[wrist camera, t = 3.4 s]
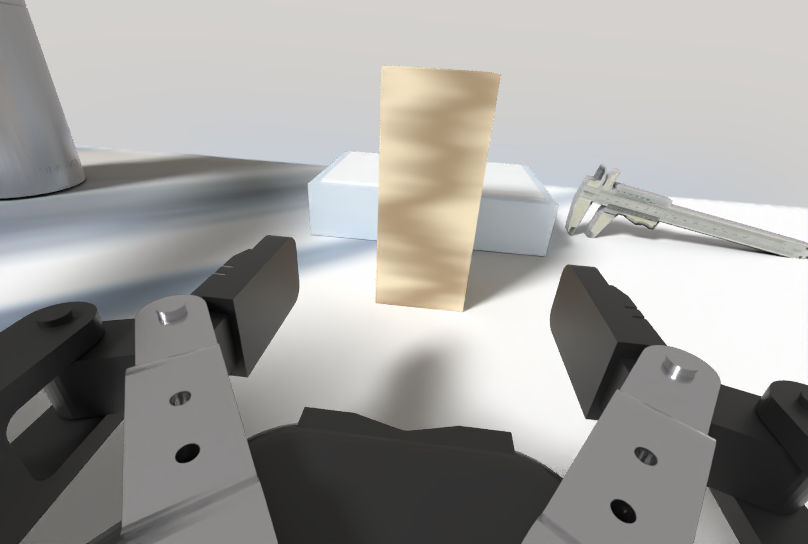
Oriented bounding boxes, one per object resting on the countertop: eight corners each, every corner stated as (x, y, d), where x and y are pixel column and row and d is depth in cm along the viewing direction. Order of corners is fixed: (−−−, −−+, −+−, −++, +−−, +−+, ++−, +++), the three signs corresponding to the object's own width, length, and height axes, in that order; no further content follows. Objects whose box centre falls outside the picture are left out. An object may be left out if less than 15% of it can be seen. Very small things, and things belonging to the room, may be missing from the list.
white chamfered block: (310, 234, 30) (307, 181, 28) (346, 190, 40) (345, 149, 38) (545, 256, 29) (559, 202, 27) (518, 204, 39) (527, 163, 37)
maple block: (375, 302, 22) (381, 66, 16) (387, 263, 26) (395, 65, 20) (462, 311, 22) (500, 74, 16) (460, 270, 26) (489, 72, 20)
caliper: (565, 238, 33) (586, 164, 30) (562, 233, 34) (582, 161, 31) (821, 263, 31) (871, 188, 28) (810, 257, 32) (857, 184, 29)
